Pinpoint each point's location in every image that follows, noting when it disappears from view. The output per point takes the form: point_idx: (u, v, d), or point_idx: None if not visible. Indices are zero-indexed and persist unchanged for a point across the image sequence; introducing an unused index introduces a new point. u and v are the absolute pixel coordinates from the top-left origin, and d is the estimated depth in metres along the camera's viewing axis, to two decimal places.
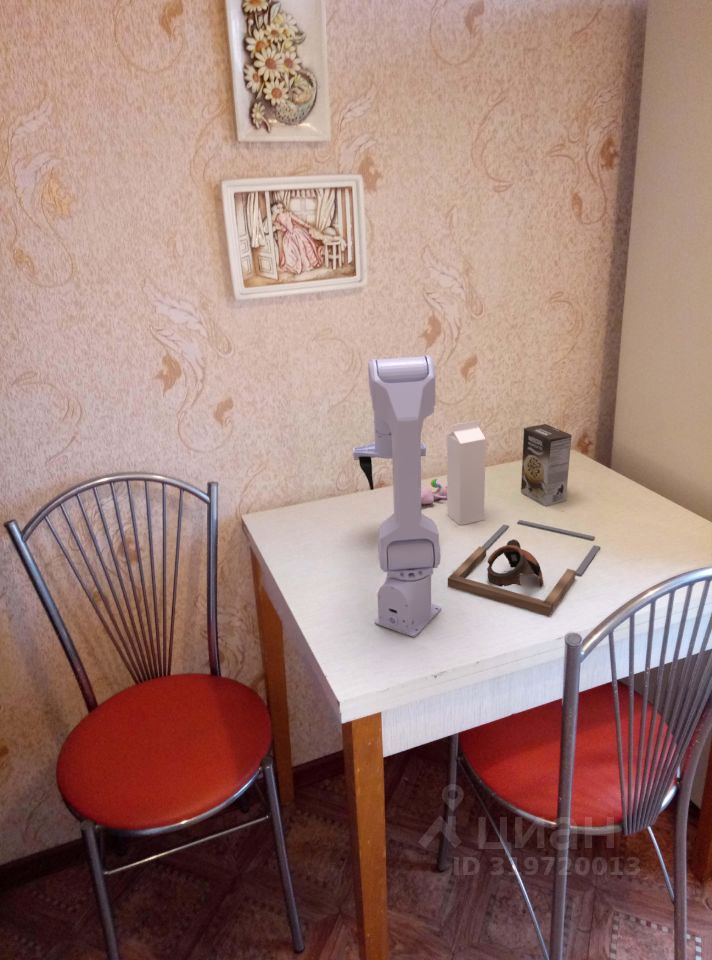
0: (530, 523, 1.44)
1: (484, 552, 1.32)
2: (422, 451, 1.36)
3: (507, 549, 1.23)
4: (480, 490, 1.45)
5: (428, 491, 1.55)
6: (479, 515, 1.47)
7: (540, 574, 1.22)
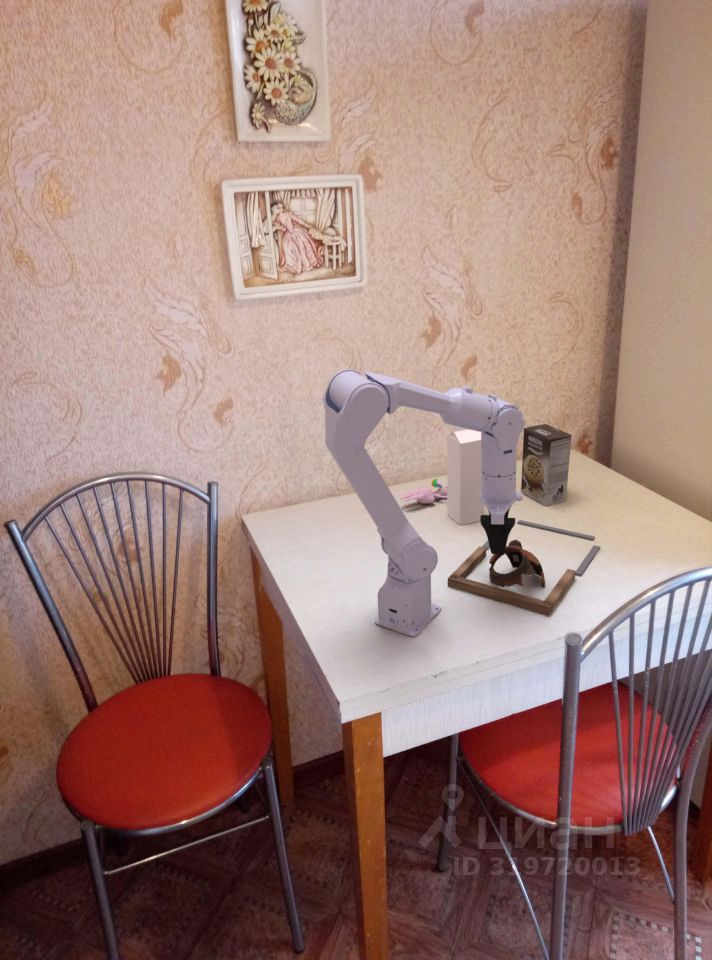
0: (530, 523, 1.44)
1: (484, 552, 1.32)
2: None
3: (509, 549, 1.23)
4: (480, 490, 1.45)
5: (429, 491, 1.55)
6: (479, 515, 1.47)
7: (542, 574, 1.22)
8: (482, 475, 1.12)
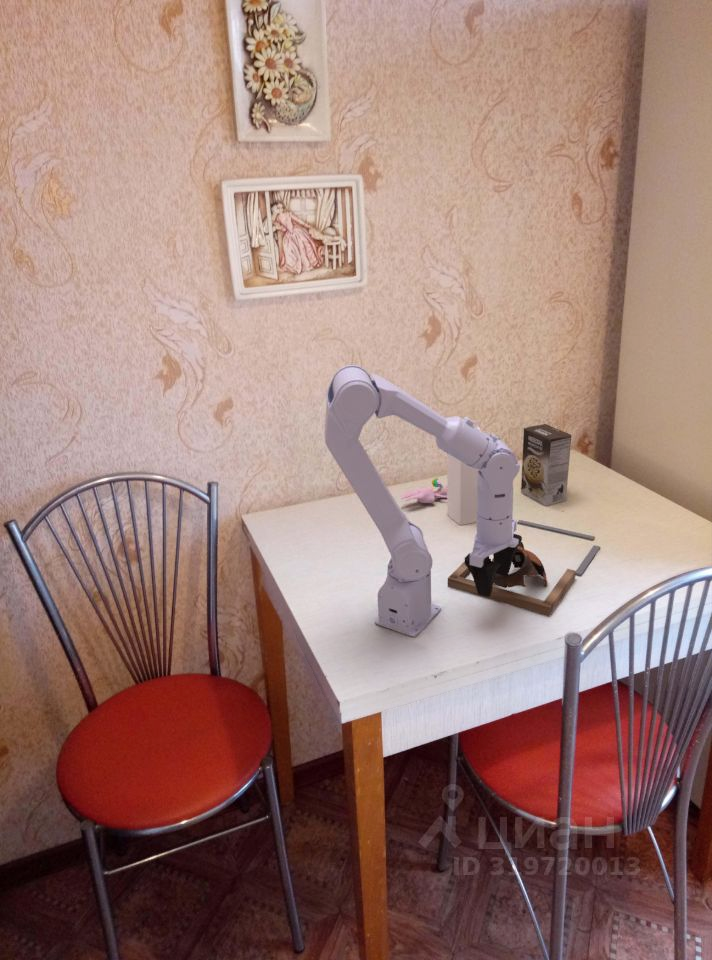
0: (530, 523, 1.44)
1: None
2: None
3: None
4: None
5: (429, 490, 1.55)
6: None
7: (544, 575, 1.22)
8: (477, 514, 1.11)
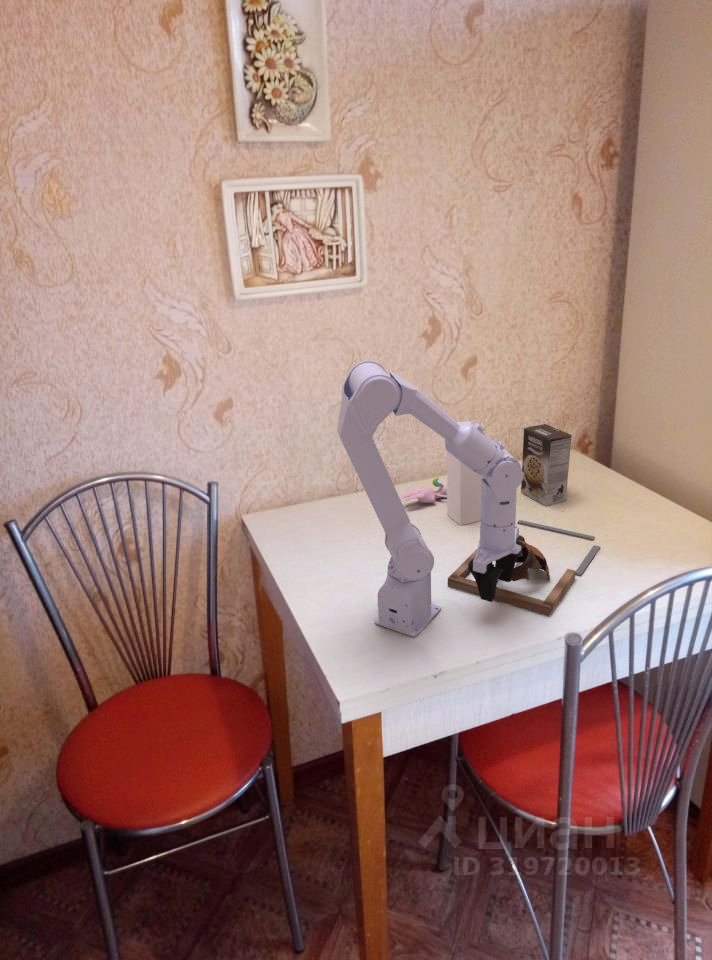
0: (530, 523, 1.44)
1: None
2: None
3: None
4: (480, 490, 1.45)
5: (429, 490, 1.55)
6: (479, 515, 1.47)
7: (547, 568, 1.24)
8: (480, 521, 1.13)
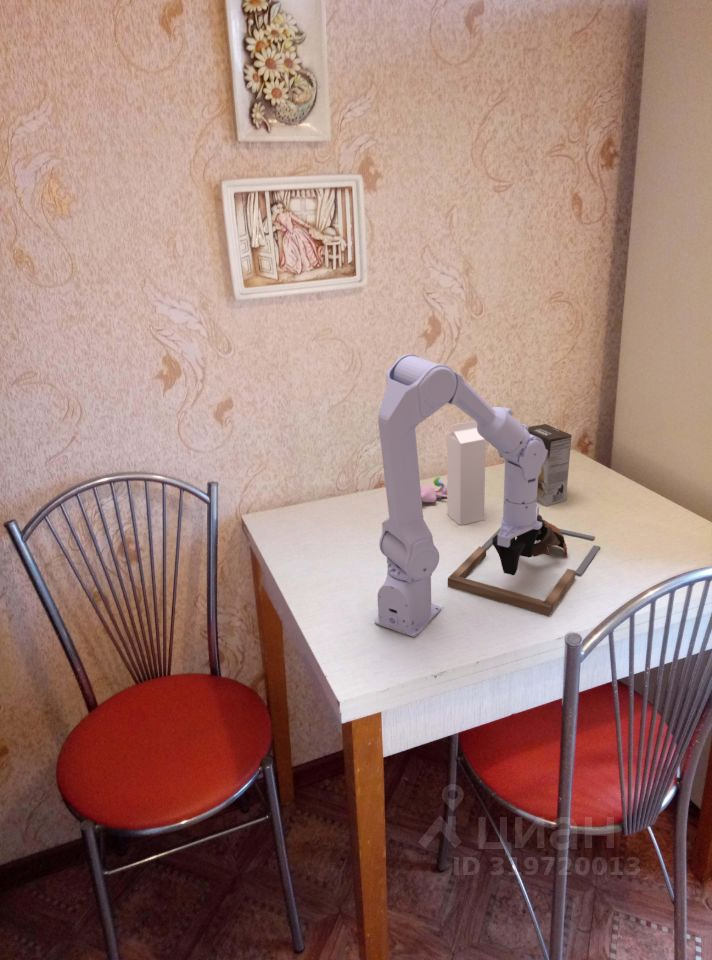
0: None
1: (484, 552, 1.32)
2: None
3: None
4: (480, 490, 1.45)
5: (431, 490, 1.56)
6: (479, 515, 1.47)
7: (564, 545, 1.31)
8: None
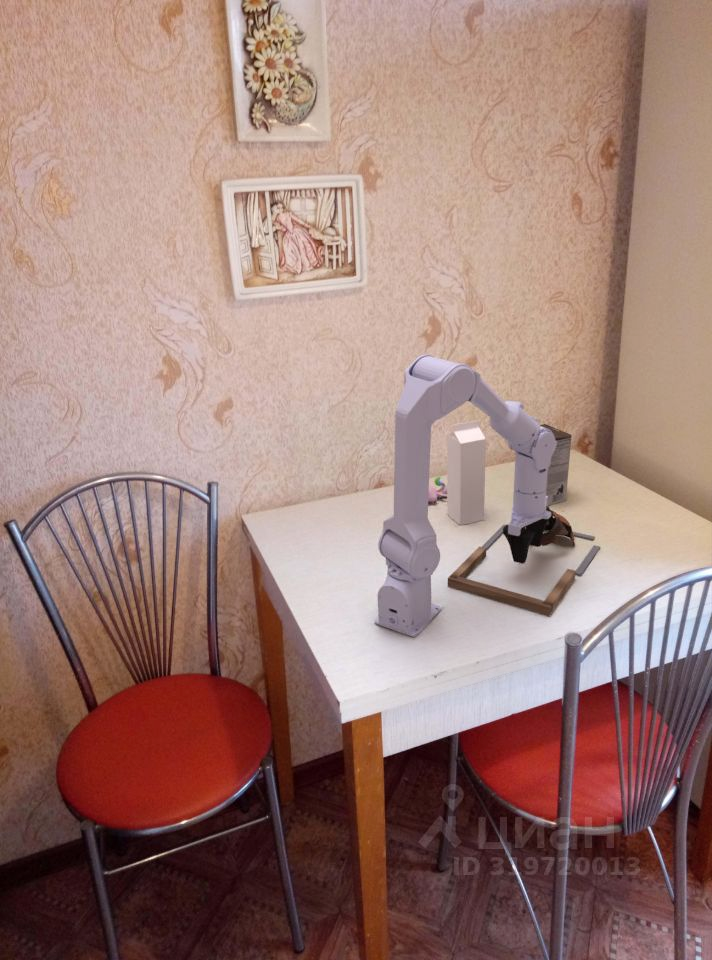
0: None
1: (484, 552, 1.32)
2: None
3: None
4: (480, 490, 1.45)
5: (431, 489, 1.56)
6: (479, 515, 1.47)
7: (572, 535, 1.35)
8: (514, 489, 1.24)
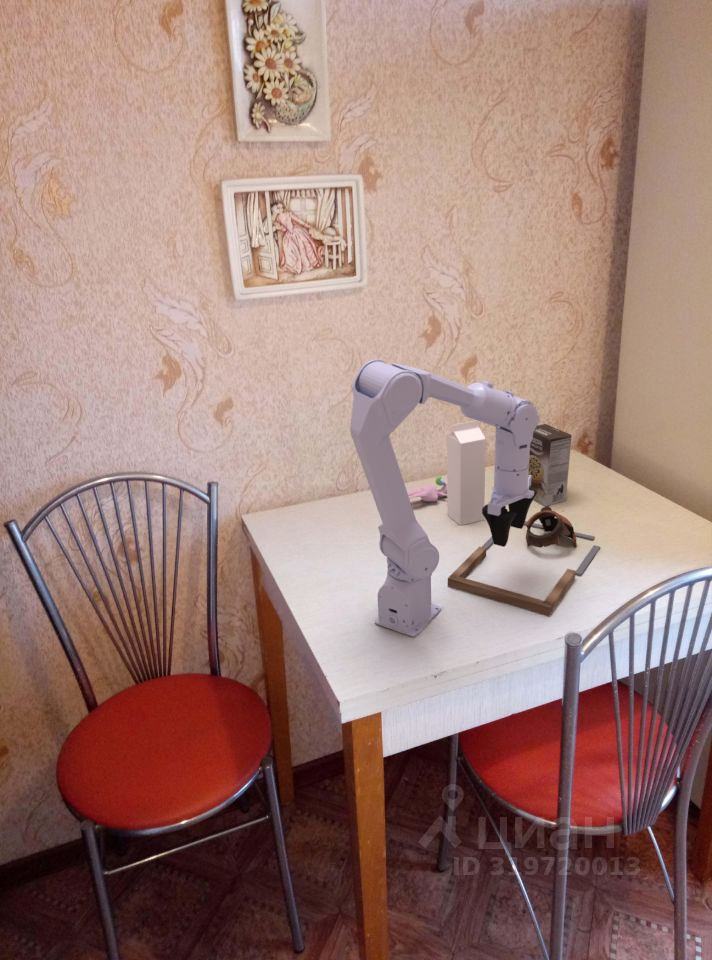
0: None
1: (484, 552, 1.32)
2: None
3: (543, 514, 1.35)
4: (480, 490, 1.45)
5: (432, 489, 1.56)
6: (479, 515, 1.47)
7: (574, 535, 1.35)
8: None
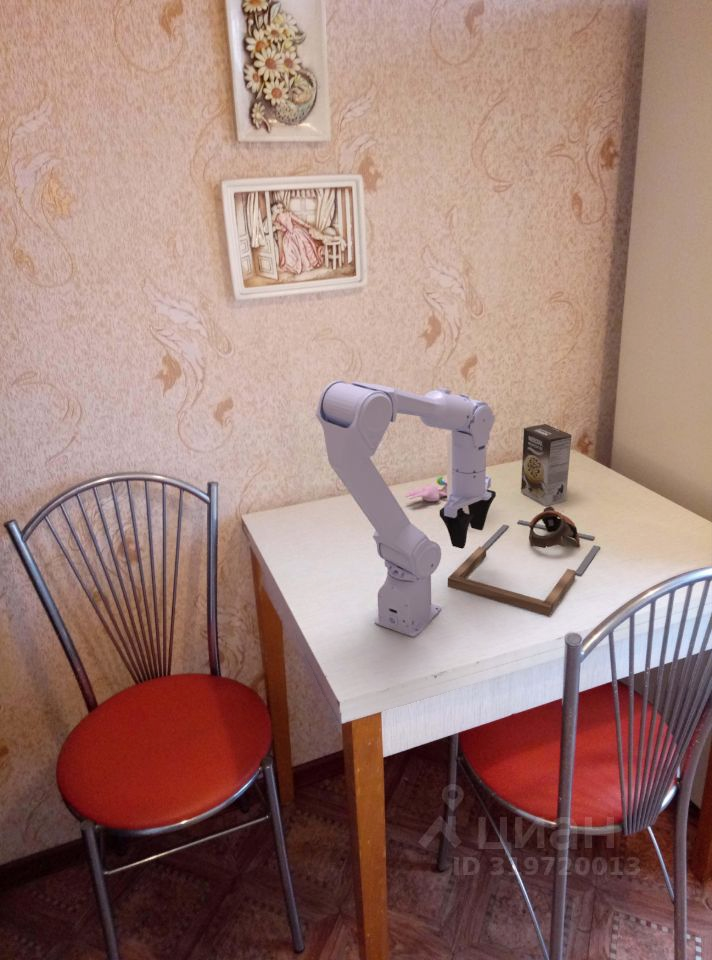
0: None
1: (484, 552, 1.32)
2: None
3: (546, 514, 1.35)
4: None
5: (434, 489, 1.56)
6: None
7: (577, 536, 1.34)
8: (452, 469, 1.17)
